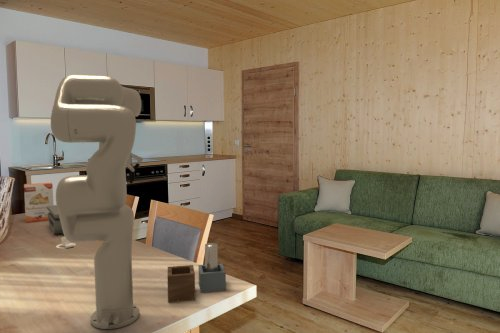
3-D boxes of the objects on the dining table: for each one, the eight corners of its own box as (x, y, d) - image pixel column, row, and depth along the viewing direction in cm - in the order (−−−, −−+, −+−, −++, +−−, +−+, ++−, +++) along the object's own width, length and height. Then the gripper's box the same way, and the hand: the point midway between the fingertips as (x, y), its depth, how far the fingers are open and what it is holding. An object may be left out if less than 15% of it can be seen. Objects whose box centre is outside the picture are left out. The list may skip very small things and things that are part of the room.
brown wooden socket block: (195, 299, 115) (194, 274, 114) (168, 302, 113) (167, 276, 112) (193, 289, 122) (193, 265, 122) (168, 291, 121) (167, 266, 120)
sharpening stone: (73, 234, 185) (72, 212, 184) (55, 237, 181) (54, 214, 179) (64, 224, 205) (63, 204, 204) (48, 226, 201) (47, 206, 200)
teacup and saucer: (75, 248, 165) (74, 239, 164) (54, 250, 162) (54, 241, 161) (76, 243, 173) (75, 234, 172) (56, 245, 170) (56, 236, 169)
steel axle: (218, 288, 123) (218, 246, 122) (206, 289, 122) (205, 246, 121) (217, 283, 127) (216, 242, 125) (205, 284, 126) (204, 243, 125)
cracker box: (25, 223, 208) (23, 185, 206) (26, 220, 213) (23, 183, 211) (54, 220, 215) (52, 183, 213) (54, 217, 220) (52, 182, 218)
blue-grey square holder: (225, 290, 121) (225, 272, 121) (200, 292, 120) (200, 274, 119) (222, 280, 129) (222, 263, 129) (198, 282, 128) (198, 265, 127)
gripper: (84, 132, 121) (86, 185, 123) (140, 132, 124) (141, 184, 126) (90, 132, 128) (92, 182, 130) (142, 132, 131) (144, 181, 133)
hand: (116, 183), depth 128 cm, fingers open, 9 cm apart
